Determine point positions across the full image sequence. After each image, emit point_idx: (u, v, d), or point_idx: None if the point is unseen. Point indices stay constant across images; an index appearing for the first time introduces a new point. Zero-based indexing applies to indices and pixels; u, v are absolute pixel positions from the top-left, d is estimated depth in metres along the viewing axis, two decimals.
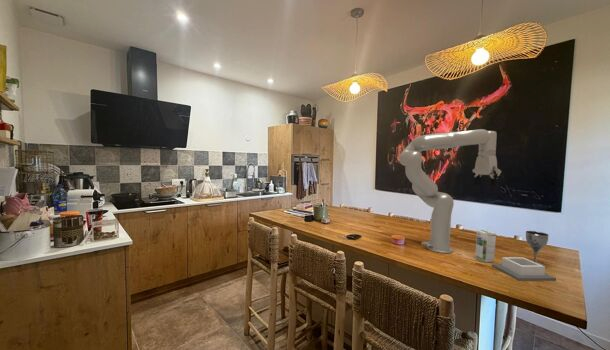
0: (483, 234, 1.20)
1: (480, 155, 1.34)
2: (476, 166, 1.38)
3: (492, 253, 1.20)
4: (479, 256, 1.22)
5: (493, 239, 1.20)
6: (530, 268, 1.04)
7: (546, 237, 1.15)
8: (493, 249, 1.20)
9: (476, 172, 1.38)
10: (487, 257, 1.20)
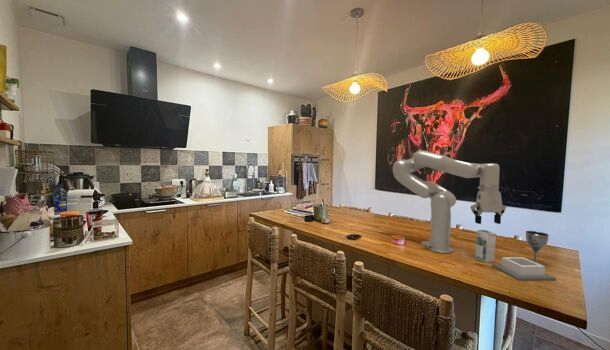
0: (483, 234, 1.20)
1: (494, 191, 1.17)
2: (485, 203, 1.18)
3: (492, 253, 1.20)
4: (479, 256, 1.22)
5: (493, 239, 1.20)
6: (530, 268, 1.04)
7: (546, 237, 1.15)
8: (493, 249, 1.20)
9: (486, 210, 1.18)
10: (487, 257, 1.20)
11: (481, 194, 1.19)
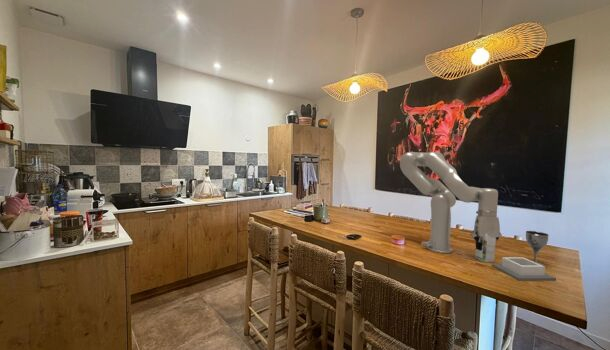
0: None
1: (492, 216, 1.18)
2: (483, 228, 1.19)
3: (492, 253, 1.20)
4: (479, 256, 1.22)
5: (493, 239, 1.20)
6: (530, 268, 1.04)
7: (546, 237, 1.15)
8: (493, 249, 1.20)
9: (483, 235, 1.19)
10: (487, 257, 1.20)
11: (479, 219, 1.20)
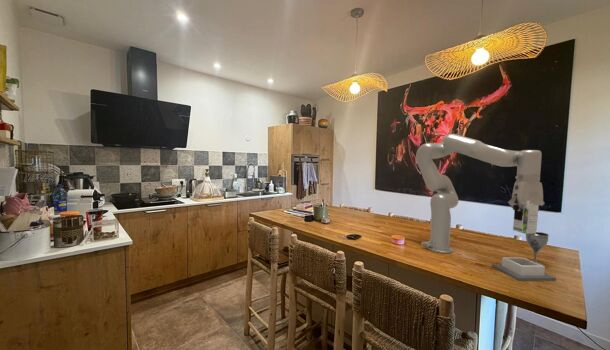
0: None
1: (535, 181, 1.03)
2: (525, 195, 1.04)
3: (534, 223, 1.05)
4: (519, 227, 1.07)
5: (536, 207, 1.05)
6: (530, 268, 1.04)
7: (546, 237, 1.15)
8: (535, 219, 1.05)
9: (525, 203, 1.04)
10: (528, 227, 1.05)
11: (519, 185, 1.06)
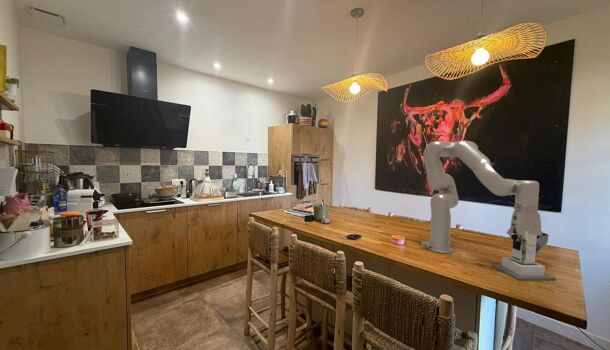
0: None
1: (533, 212, 1.04)
2: (523, 225, 1.05)
3: (532, 253, 1.06)
4: (518, 257, 1.08)
5: (534, 238, 1.05)
6: (530, 268, 1.04)
7: (546, 237, 1.15)
8: (534, 249, 1.06)
9: (523, 233, 1.05)
10: (527, 257, 1.06)
11: (517, 215, 1.06)
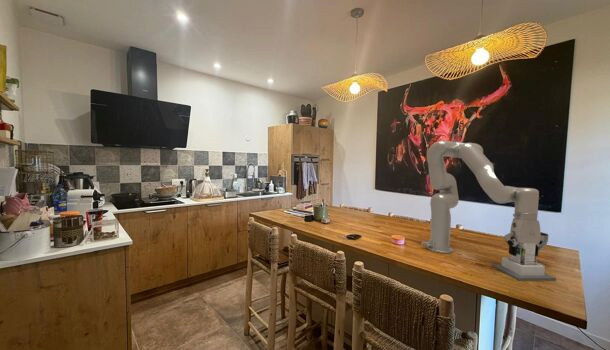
0: None
1: (533, 220, 1.04)
2: (522, 233, 1.05)
3: (531, 262, 1.06)
4: None
5: (533, 247, 1.06)
6: (530, 268, 1.04)
7: (546, 237, 1.15)
8: (532, 258, 1.06)
9: (522, 241, 1.05)
10: None
11: (517, 223, 1.06)
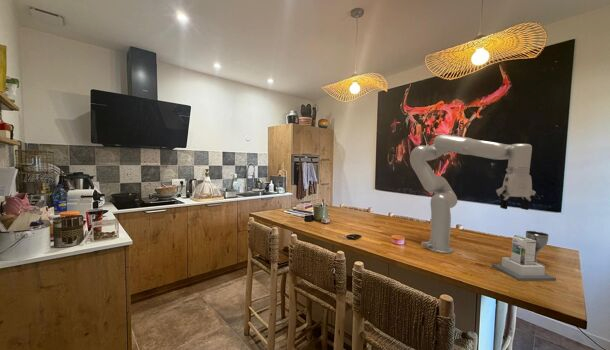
0: (521, 241, 1.07)
1: (524, 173, 1.07)
2: (514, 186, 1.09)
3: (531, 262, 1.06)
4: None
5: (533, 247, 1.06)
6: (530, 268, 1.04)
7: (546, 237, 1.15)
8: (532, 258, 1.06)
9: (513, 194, 1.09)
10: None
11: (509, 177, 1.10)
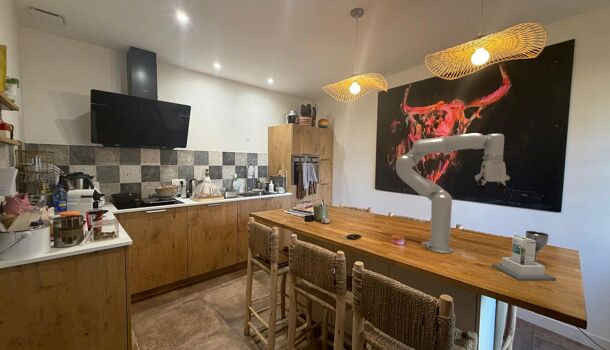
0: (521, 241, 1.07)
1: (499, 160, 1.20)
2: (490, 172, 1.21)
3: (531, 262, 1.06)
4: None
5: (533, 247, 1.06)
6: (530, 268, 1.04)
7: (546, 237, 1.15)
8: (532, 258, 1.06)
9: (490, 179, 1.21)
10: None
11: (485, 164, 1.22)
